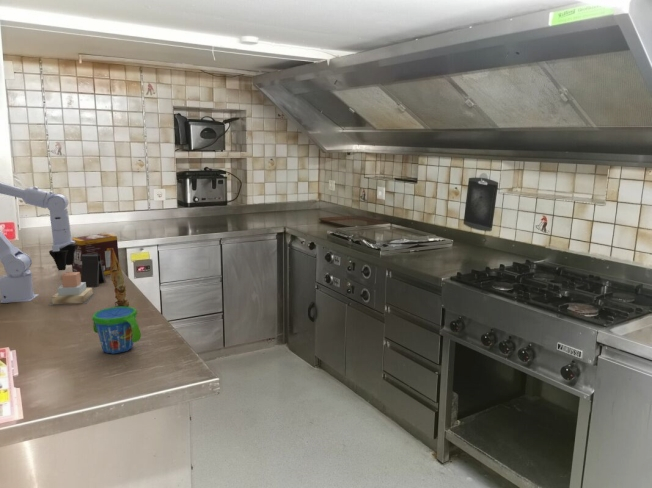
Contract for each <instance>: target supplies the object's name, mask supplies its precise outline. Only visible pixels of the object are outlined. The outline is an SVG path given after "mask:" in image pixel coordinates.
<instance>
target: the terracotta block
mask: <svg viewBox="0 0 652 488" xmlns="http://www.w3.org/2000/svg"><path fill="white" fill-rule="evenodd" d="M61 282H62V284H61V285H63V287H77V286H78V285H79V284H81V278H80V272H73V271H72V272H69V271H67V272H65V273H63V274H62V275H61Z"/></svg>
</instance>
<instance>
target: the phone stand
mask: <svg viewBox="0 0 652 488" xmlns="http://www.w3.org/2000/svg"><path fill="white" fill-rule="evenodd" d="M81 259H82V272H81V282H86V288H97V287H99V285H100V284H101V285H102V284H105V283H107V280H106V275H104V272H103V268H102V264H101V256H100V254H83V255H82V257H81Z"/></svg>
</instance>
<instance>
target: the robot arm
mask: <svg viewBox="0 0 652 488" xmlns="http://www.w3.org/2000/svg"><path fill="white" fill-rule="evenodd" d="M0 194H1V195H5V196H9V197H13V198H14V197H15V198H19V199H22V201H23V202H24V203H25V204H27V205H31V206H34V207H39V208H43V209H47V210H48V211H49V216H50V217H49V220H50V221H49V222H50V228H51V235H52V236H51V237H52V245H51V250H49V251H48V253H49V256H51V258H52V259H53V261H54V263H55V265H56V268H57V270H58V271H65V270H66V267H67V266H72V265H73V260H74V253H75V249H76V247H77V244H74V243H75V241H73V238H74V237H72V233H71V225H70V216H69V211H68V208H67V207H68V205H69V200H68V198H67V196H66V195H64V194H61V193H58V192H57V193H54V191H52V190H50V191H48V190H47V191H46V190H43V189H40V188H39V187H38V186H32V187H31V186H29V187H28V188H26V189H24V188H22V187H18V186H16V185H11V184H8V183H5V182H1V181H0ZM32 260H33V259H32V258H31V256H30V255H29V254H27V253H24V252H23V251H22V250H21V249H20V248H19V247H17V246H15V245H13V243H12V242H11V241H10V240H9V239H8V237H6V235H5V234H4V232H3V231H1V230H0V262H1V264H2V265H3V269H4V272H5V273H6V274H3V275H1V276H0V303H1V304H7V303H8V304H9V303H10V304H11V303H16V302H17V303H19V302H20V303H21V302H31V301H32V300H33V299H36V297H38V296H39V295H40V294H39V293H37V294H36V293H35V292H34V291H35V290H34V283H33V276H32V271H31V270H30V267H31V266H32V264H33V261H32Z"/></svg>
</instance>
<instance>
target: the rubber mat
mask: <svg viewBox="0 0 652 488" xmlns="http://www.w3.org/2000/svg"><path fill="white" fill-rule="evenodd" d="M96 295H97V293H93V295H92V296H91V297H90V298H89V299H88V300H87V301H85V302H84V303H71V304H52V302H50V303H49V304H48V306H64V305H67V306H68V305H87V304H88V303H89V301H91V299H92V298H93V297H95V296H96Z"/></svg>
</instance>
